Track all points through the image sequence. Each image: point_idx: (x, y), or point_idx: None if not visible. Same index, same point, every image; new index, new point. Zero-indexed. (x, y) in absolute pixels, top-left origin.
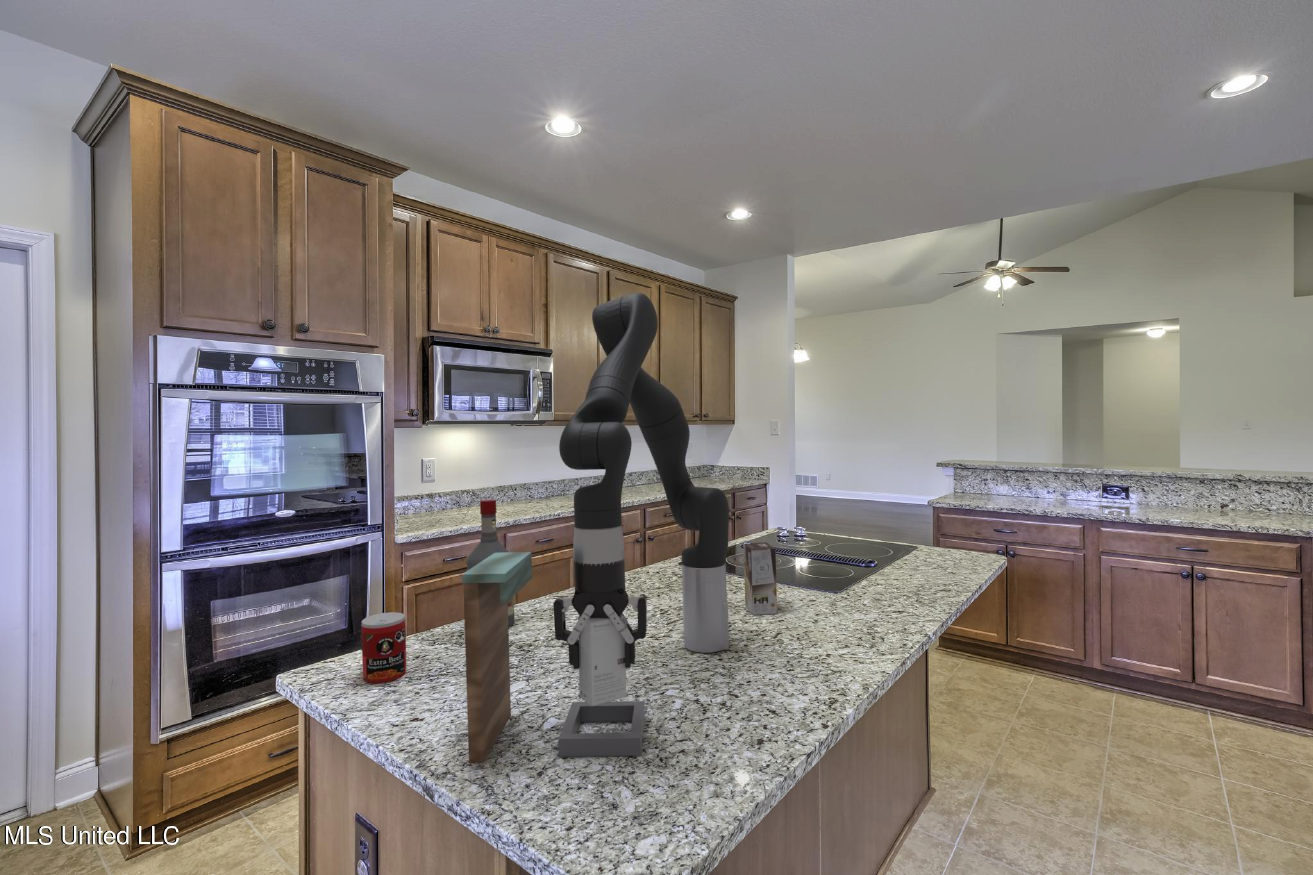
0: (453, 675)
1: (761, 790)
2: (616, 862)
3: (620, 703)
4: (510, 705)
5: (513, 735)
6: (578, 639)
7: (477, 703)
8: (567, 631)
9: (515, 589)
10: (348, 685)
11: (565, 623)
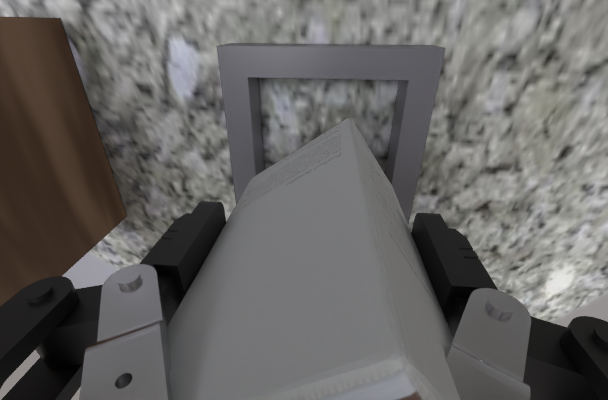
0: None
1: (570, 309)
2: None
3: (366, 63)
4: (38, 21)
5: (127, 127)
6: (178, 308)
7: None
8: (89, 342)
9: None
10: None
11: (21, 353)
